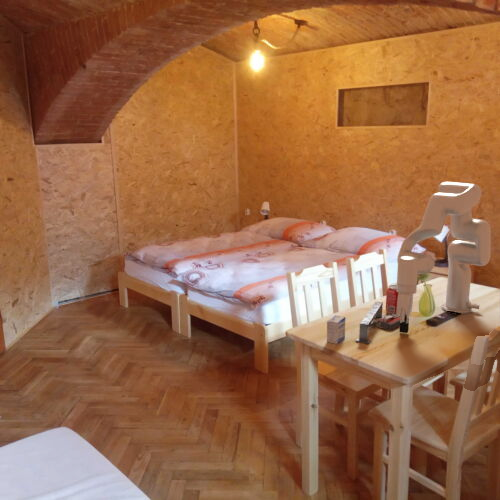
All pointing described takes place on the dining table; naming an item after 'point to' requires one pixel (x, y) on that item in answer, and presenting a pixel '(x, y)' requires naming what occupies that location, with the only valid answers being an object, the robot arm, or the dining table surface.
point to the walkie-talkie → (387, 322)
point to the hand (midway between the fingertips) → (403, 331)
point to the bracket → (369, 322)
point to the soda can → (391, 299)
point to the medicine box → (336, 329)
